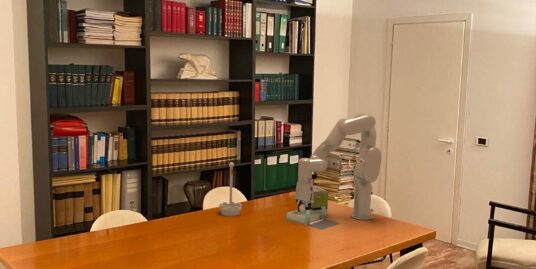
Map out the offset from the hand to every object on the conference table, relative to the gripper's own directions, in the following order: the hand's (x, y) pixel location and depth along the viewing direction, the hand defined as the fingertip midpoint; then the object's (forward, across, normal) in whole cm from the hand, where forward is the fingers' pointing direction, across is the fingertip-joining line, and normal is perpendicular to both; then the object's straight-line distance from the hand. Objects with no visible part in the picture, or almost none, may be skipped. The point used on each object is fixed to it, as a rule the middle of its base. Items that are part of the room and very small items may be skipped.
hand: (303, 212), depth 292 cm
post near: (+4, -8, +7) cm, 12 cm away
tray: (+4, 0, 0) cm, 4 cm away
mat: (+4, -6, 0) cm, 7 cm away
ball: (0, 0, 0) cm, 0 cm away
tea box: (+4, +4, -15) cm, 16 cm away
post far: (+4, -8, -7) cm, 12 cm away
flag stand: (+5, +36, +22) cm, 43 cm away
